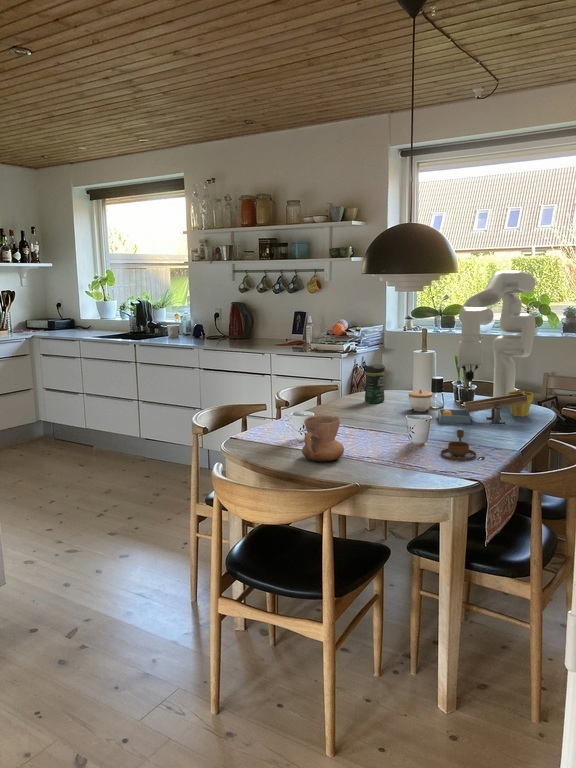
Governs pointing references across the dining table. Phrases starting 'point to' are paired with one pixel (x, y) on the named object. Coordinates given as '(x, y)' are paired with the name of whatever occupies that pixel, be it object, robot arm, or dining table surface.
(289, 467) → the dining table surface
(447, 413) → the ball
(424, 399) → the lidded jar
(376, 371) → the coffee jar
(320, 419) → the ceramic jug
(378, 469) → the dining table surface
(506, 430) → the dining table surface
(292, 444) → the dining table surface
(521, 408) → the plant pot
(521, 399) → the chute
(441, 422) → the grey square tray
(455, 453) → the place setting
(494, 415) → the pivot stand
